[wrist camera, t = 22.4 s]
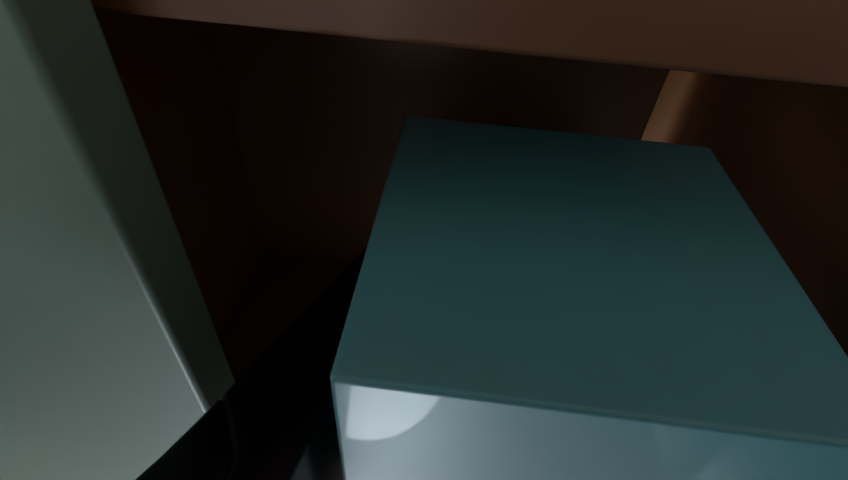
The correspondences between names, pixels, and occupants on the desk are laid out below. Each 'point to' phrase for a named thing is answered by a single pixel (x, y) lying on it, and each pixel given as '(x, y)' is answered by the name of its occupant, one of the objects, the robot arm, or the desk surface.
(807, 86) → the drawer
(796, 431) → the block
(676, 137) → the desk surface
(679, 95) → the desk surface
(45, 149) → the cabinet
